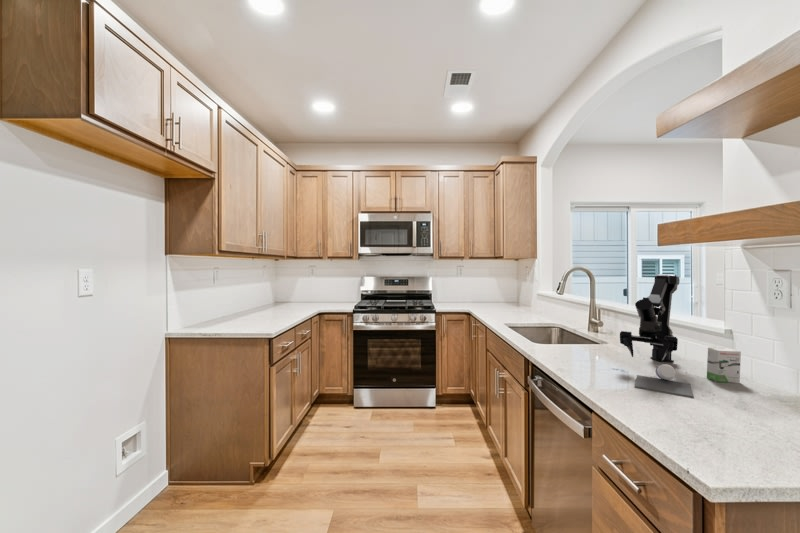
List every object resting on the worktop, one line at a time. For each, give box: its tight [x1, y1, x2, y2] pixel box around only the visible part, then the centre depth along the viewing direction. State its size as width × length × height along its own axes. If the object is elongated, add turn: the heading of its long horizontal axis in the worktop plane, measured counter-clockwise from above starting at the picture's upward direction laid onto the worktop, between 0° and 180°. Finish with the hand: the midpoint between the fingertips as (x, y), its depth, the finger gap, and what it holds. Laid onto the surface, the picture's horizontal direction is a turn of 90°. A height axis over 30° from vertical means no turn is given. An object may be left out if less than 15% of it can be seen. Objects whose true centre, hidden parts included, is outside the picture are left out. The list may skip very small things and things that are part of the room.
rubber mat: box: [634, 374, 695, 399], centre depth 128 cm, size 16×16×1 cm
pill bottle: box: [655, 363, 676, 380], centre depth 132 cm, size 5×5×10 cm
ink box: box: [706, 346, 742, 384], centre depth 137 cm, size 9×5×12 cm, turn 87°
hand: (646, 358), depth 140 cm, fingers open, 9 cm apart
